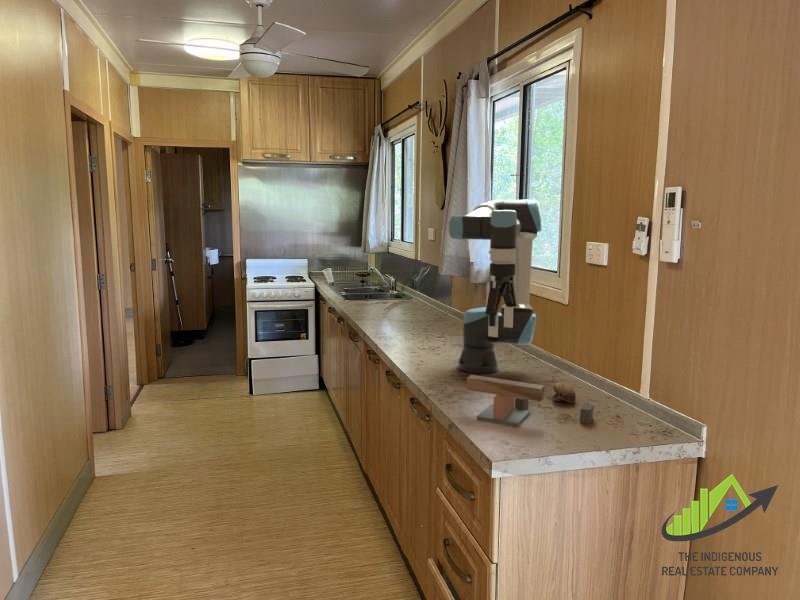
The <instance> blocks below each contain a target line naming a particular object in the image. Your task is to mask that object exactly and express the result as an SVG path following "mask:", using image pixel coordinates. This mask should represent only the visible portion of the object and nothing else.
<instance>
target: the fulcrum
mask: <svg viewBox="0 0 800 600" xmlns="http://www.w3.org/2000/svg"><path fill="white" fill-rule="evenodd" d="M530 415H531V410H527V409H526V410H522V409H516V408H515V397H509V396H503V395H497V394H495V396H494V397H493V404H492V403H491V404H490V405H489V406H488V407H486V408H485V409H484V410H482V411H481V412H480V413H479V414H478V415H477V416H476V420H478V421H483V422H487V423H493V424H498V425H504V426H508V427H509V426H510V427H514V428H519V426H520V425H521V424H522V423H523V422H524V421H525V420H526V419H527V418H528V417H529V416H530Z"/></svg>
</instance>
